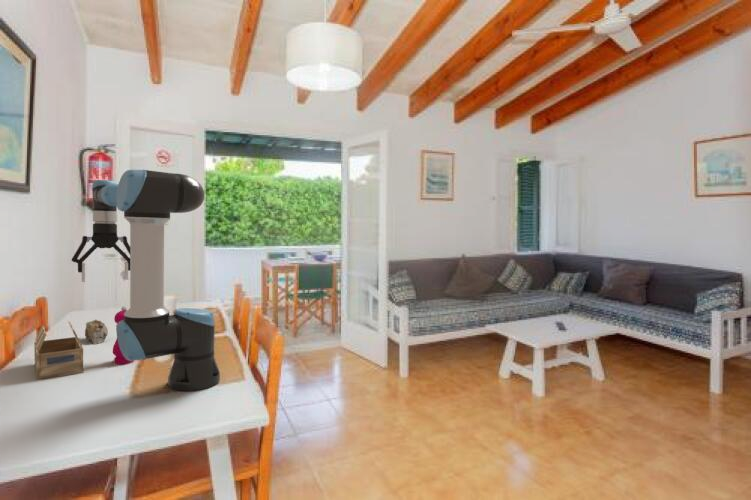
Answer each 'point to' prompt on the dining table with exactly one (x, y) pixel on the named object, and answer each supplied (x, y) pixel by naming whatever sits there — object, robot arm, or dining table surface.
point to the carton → (58, 358)
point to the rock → (96, 331)
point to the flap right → (74, 333)
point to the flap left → (40, 338)
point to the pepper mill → (116, 349)
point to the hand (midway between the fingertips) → (105, 280)
